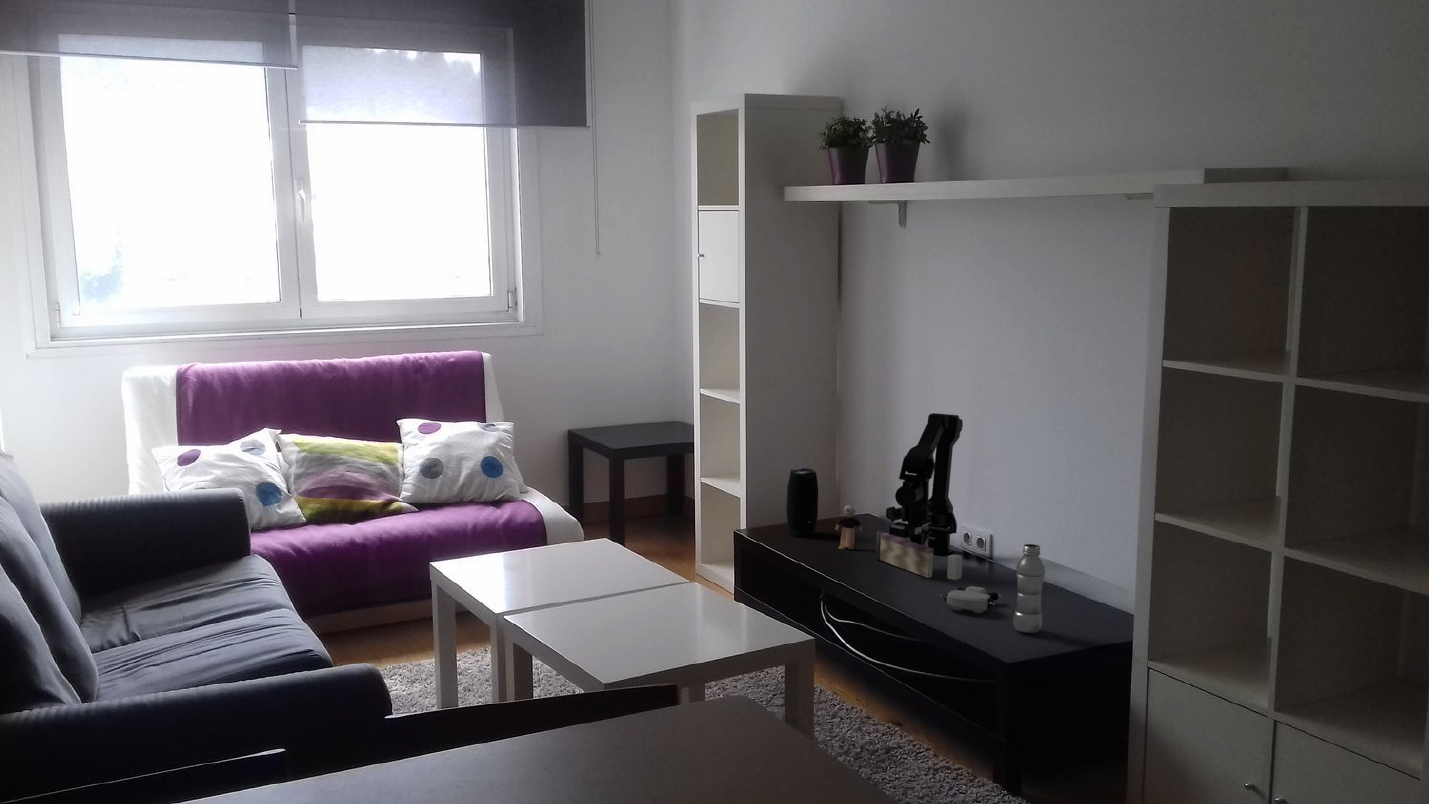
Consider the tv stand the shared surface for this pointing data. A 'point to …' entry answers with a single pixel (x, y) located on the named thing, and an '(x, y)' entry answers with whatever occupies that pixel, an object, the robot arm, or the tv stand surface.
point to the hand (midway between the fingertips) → (917, 555)
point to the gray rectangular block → (954, 567)
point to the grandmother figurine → (848, 528)
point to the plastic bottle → (1029, 590)
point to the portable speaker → (802, 502)
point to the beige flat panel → (904, 554)
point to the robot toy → (971, 599)
